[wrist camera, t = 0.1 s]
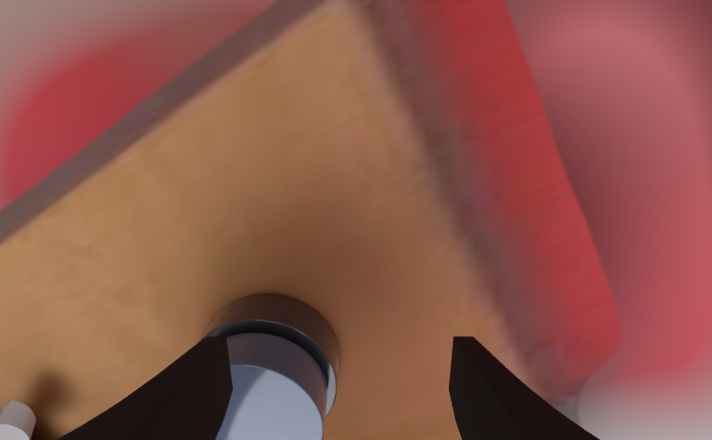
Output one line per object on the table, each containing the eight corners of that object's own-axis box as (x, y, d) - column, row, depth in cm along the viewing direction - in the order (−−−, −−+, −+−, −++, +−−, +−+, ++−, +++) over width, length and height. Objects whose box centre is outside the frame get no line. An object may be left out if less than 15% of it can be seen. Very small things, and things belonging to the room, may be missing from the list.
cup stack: (340, 407, 25) (335, 492, 19) (213, 407, 25) (173, 491, 19) (338, 293, 22) (331, 355, 17) (195, 293, 22) (143, 355, 17)
